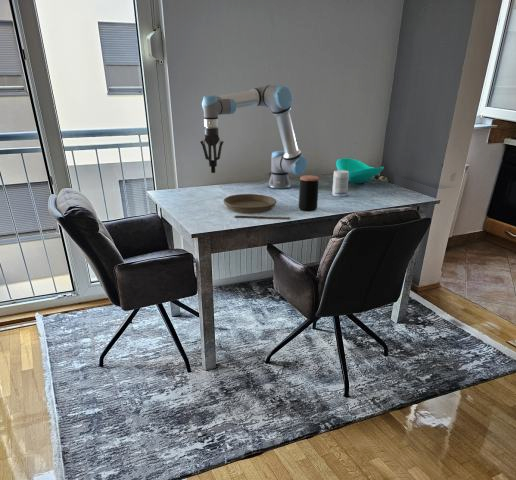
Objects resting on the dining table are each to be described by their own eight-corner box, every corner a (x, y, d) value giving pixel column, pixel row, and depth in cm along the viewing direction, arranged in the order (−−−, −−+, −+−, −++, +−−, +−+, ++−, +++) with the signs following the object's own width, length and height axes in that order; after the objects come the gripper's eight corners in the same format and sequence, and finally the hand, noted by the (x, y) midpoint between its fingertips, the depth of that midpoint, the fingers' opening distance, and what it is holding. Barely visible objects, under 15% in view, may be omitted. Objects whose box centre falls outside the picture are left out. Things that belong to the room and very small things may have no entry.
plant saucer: (279, 202, 287) (280, 194, 284) (271, 216, 261) (271, 208, 258) (230, 199, 291) (230, 192, 289) (217, 213, 265) (217, 205, 263)
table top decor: (325, 179, 343) (326, 160, 336) (355, 175, 355) (357, 156, 348) (359, 190, 314) (362, 169, 307) (391, 186, 325) (394, 165, 318)
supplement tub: (349, 195, 301) (352, 171, 293) (338, 197, 296) (341, 173, 289) (339, 192, 308) (341, 169, 300) (328, 194, 303) (330, 171, 296)
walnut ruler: (234, 217, 258) (234, 216, 258) (235, 216, 261) (235, 215, 260) (289, 219, 256) (289, 218, 256) (289, 218, 258) (289, 217, 258)
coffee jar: (318, 207, 276) (320, 176, 267) (314, 212, 267) (316, 180, 258) (301, 206, 279) (302, 174, 270) (296, 210, 270) (298, 178, 261)
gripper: (197, 128, 253) (200, 173, 265) (222, 128, 252) (223, 174, 264) (200, 126, 259) (203, 170, 271) (224, 126, 258) (226, 171, 270)
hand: (213, 172), depth 268 cm, fingers closed
